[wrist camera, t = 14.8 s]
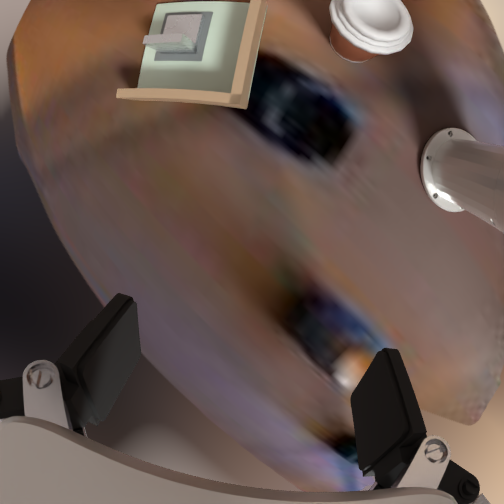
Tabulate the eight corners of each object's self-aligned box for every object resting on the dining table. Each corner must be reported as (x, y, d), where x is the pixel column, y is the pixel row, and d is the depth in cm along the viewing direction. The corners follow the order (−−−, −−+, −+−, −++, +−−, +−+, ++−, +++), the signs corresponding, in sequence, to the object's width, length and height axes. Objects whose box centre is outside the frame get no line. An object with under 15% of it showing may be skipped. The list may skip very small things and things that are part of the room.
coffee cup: (371, 13, 25) (399, -23, 14) (393, 68, 28) (432, 48, 18) (310, 19, 27) (318, -22, 16) (331, 76, 30) (351, 53, 20)
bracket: (196, 53, 30) (180, 42, 25) (162, 54, 30) (142, 43, 25) (204, 17, 28) (191, 0, 22) (170, 18, 28) (153, 3, 22)
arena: (267, 6, 27) (264, -12, 21) (246, 109, 34) (239, 104, 28) (159, 5, 27) (141, -9, 22) (137, 100, 34) (116, 97, 29)
